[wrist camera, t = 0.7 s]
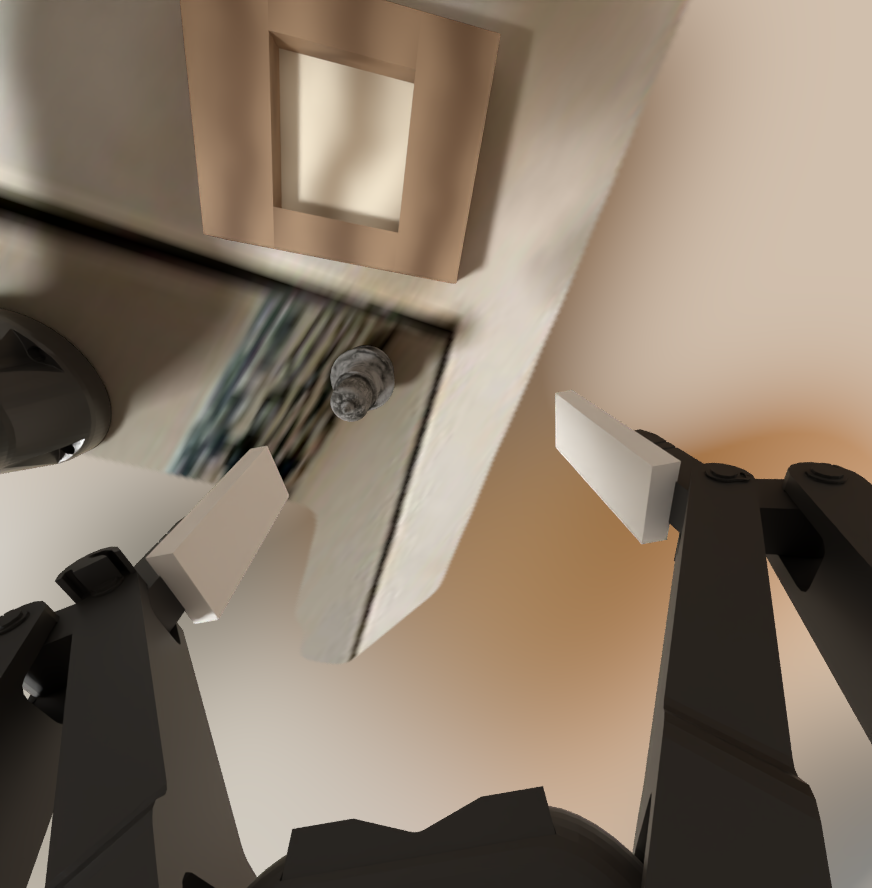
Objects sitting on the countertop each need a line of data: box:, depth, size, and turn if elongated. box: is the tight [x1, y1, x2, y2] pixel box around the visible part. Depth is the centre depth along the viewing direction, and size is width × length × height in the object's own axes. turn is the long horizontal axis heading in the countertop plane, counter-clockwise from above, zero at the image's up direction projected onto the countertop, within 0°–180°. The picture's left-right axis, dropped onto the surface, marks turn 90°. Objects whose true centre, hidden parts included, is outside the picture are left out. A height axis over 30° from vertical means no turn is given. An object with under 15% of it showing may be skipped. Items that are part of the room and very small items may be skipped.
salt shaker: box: [331, 345, 395, 421], centre depth 29 cm, size 6×6×12 cm
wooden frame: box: [180, 0, 501, 284], centre depth 25 cm, size 20×15×3 cm
